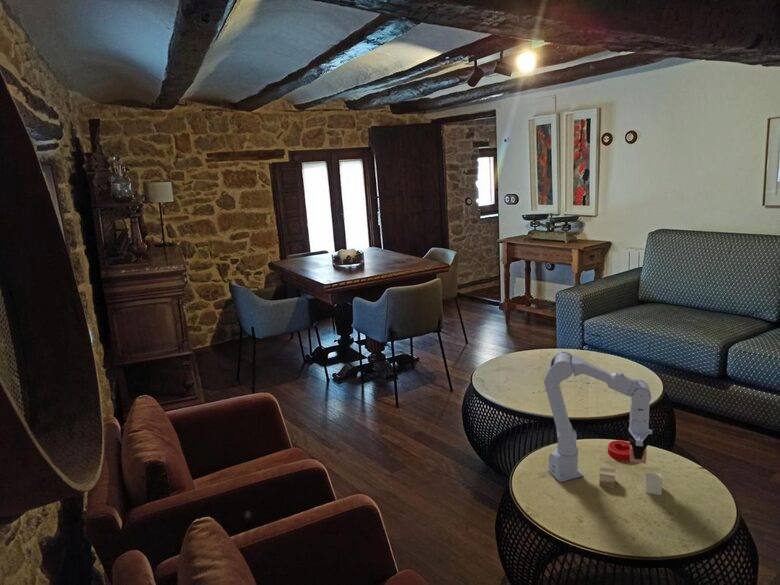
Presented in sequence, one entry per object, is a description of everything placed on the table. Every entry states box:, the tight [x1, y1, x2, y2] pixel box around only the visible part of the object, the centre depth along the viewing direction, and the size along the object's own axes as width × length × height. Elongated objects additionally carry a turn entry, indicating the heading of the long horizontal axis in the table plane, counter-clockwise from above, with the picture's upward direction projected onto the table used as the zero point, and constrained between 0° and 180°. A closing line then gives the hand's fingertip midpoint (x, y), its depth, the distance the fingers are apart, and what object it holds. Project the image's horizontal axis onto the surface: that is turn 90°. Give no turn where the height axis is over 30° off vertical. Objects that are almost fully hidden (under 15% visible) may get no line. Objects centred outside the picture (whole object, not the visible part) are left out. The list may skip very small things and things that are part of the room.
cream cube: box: [644, 471, 663, 496], centre depth 177 cm, size 5×5×5 cm
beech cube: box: [598, 465, 616, 488], centre depth 183 cm, size 5×5×5 cm
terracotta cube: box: [629, 444, 648, 465], centre depth 180 cm, size 5×5×5 cm
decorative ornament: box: [607, 439, 630, 462], centre depth 199 cm, size 10×10×3 cm
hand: (637, 454), depth 180 cm, fingers closed on terracotta cube, 5 cm apart
